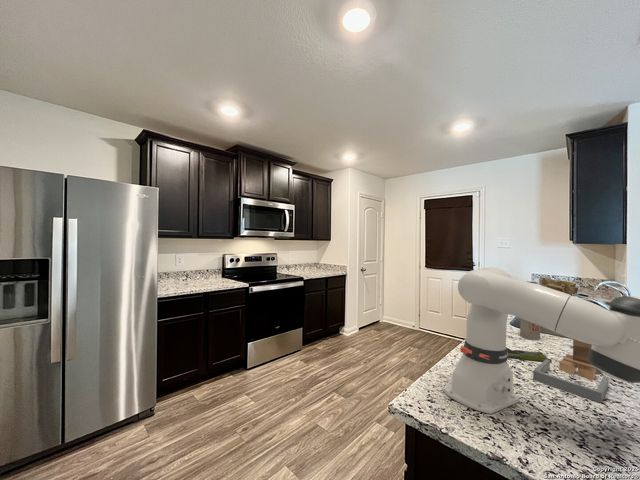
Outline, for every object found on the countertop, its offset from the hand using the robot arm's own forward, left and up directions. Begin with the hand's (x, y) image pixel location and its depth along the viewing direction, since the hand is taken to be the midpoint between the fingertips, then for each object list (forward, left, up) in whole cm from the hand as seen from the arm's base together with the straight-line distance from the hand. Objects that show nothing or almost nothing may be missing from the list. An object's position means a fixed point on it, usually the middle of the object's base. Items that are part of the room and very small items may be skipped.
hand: (627, 356), depth 94 cm
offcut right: (-10, +9, -8) cm, 16 cm away
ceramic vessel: (+132, +42, -8) cm, 139 cm away
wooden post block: (0, +11, -8) cm, 14 cm away
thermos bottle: (+21, +33, -8) cm, 40 cm away
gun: (-8, +31, -9) cm, 33 cm away
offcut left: (-10, +14, -8) cm, 19 cm away
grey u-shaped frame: (-21, +11, -8) cm, 25 cm away
